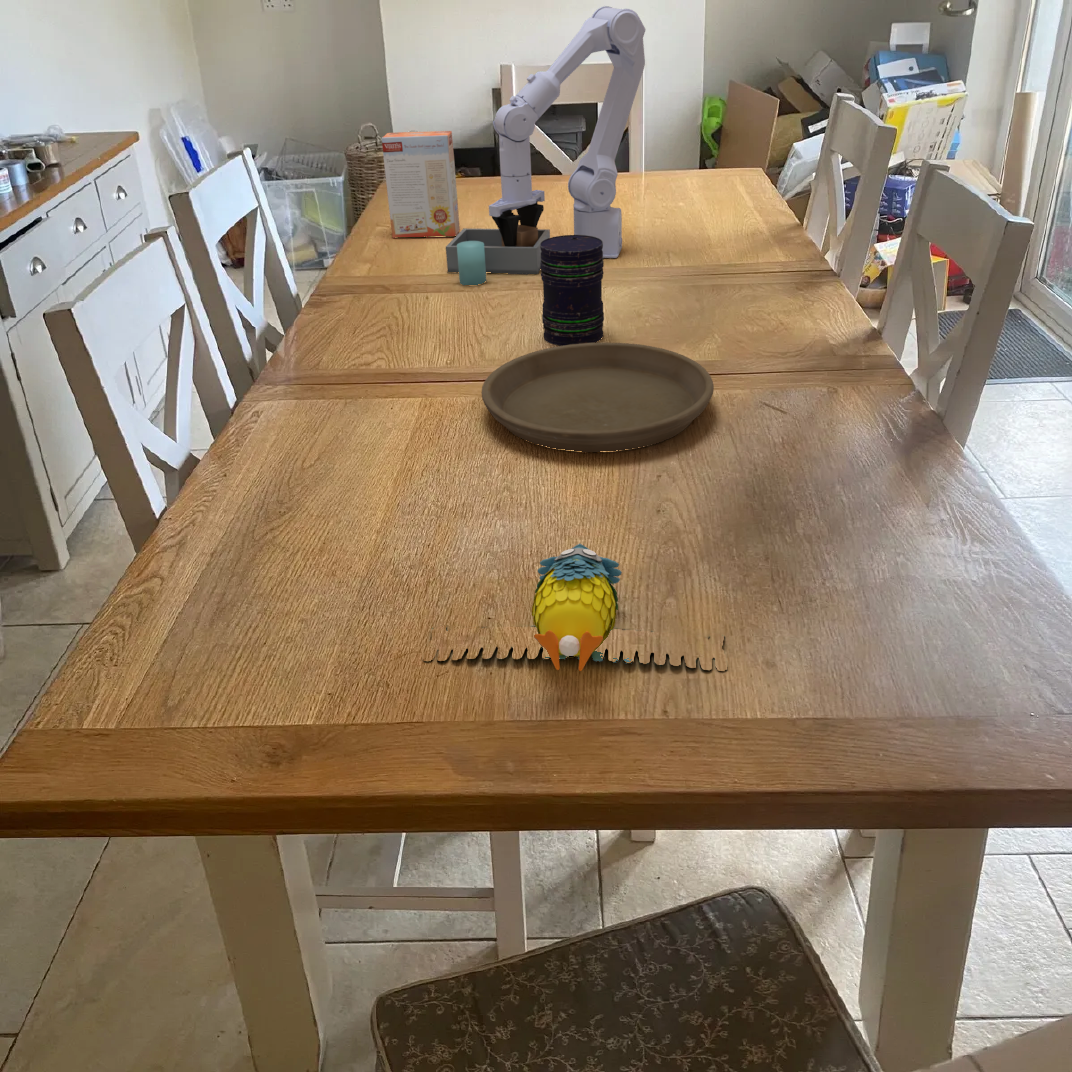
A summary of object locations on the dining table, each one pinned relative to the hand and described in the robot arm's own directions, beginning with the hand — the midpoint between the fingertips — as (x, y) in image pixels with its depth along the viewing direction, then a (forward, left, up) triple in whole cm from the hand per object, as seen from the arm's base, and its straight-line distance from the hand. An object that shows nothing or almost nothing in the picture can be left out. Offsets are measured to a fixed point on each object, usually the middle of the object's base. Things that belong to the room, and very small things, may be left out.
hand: (519, 246), depth 205 cm
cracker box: (+25, -20, -4) cm, 33 cm away
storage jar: (-17, +40, -4) cm, 43 cm away
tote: (+4, 0, -3) cm, 5 cm away
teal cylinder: (+7, +12, -3) cm, 14 cm away
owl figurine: (-30, +121, -4) cm, 125 cm away
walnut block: (0, 0, -2) cm, 2 cm away
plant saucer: (-25, +69, -4) cm, 73 cm away
